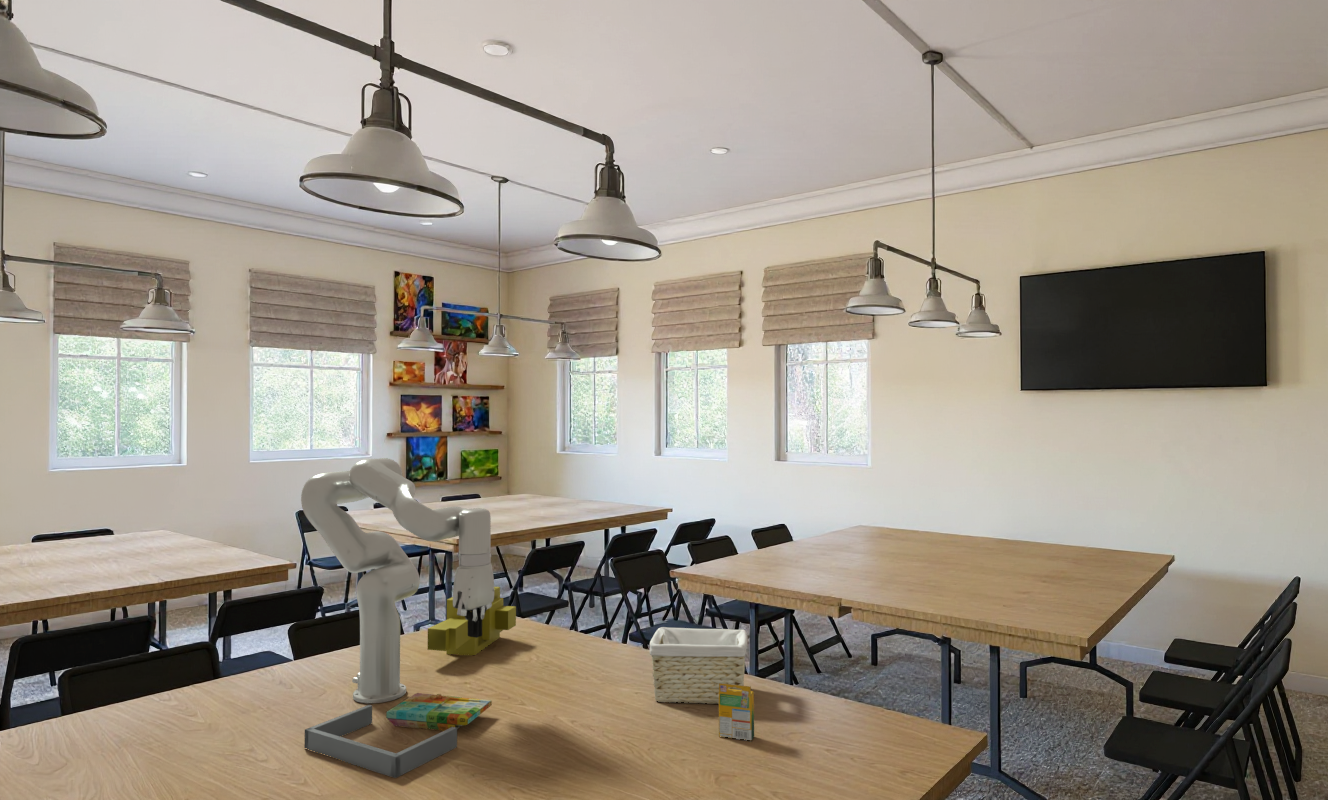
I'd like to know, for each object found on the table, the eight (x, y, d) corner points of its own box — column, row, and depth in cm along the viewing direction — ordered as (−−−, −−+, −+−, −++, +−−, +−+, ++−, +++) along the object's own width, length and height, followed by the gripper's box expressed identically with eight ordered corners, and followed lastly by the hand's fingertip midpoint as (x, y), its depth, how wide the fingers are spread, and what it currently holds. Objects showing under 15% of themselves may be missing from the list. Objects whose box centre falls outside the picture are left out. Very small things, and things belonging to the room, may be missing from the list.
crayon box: (754, 736, 165) (754, 682, 166) (751, 741, 163) (751, 686, 163) (722, 732, 168) (721, 678, 168) (718, 737, 165) (718, 683, 165)
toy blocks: (474, 584, 248) (522, 586, 245) (474, 634, 247) (522, 636, 245) (424, 610, 213) (478, 612, 211) (423, 668, 213) (478, 671, 210)
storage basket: (647, 704, 185) (647, 642, 186) (657, 681, 201) (657, 625, 202) (746, 708, 182) (746, 646, 183) (748, 685, 198) (748, 628, 199)
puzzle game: (414, 690, 183) (491, 696, 178) (414, 709, 182) (491, 717, 178) (386, 707, 171) (467, 715, 167) (386, 728, 171) (467, 736, 166)
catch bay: (304, 748, 160) (304, 729, 160) (368, 722, 174) (368, 704, 174) (395, 778, 146) (395, 757, 146) (456, 747, 160) (456, 727, 160)
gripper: (484, 554, 194) (484, 627, 193) (440, 563, 181) (440, 641, 180) (507, 556, 190) (507, 630, 189) (464, 566, 177) (464, 646, 176)
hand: (474, 636), depth 185 cm, fingers closed
